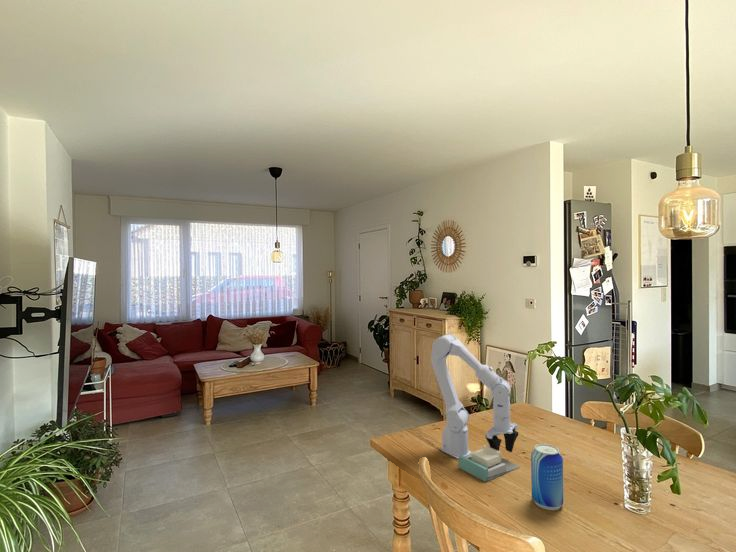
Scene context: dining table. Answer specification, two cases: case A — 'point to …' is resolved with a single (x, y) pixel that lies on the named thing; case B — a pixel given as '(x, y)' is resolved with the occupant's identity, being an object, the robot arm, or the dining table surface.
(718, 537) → the dining table surface
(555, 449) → the beer can
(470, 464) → the dock
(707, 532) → the dining table surface
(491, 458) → the cream notched block
